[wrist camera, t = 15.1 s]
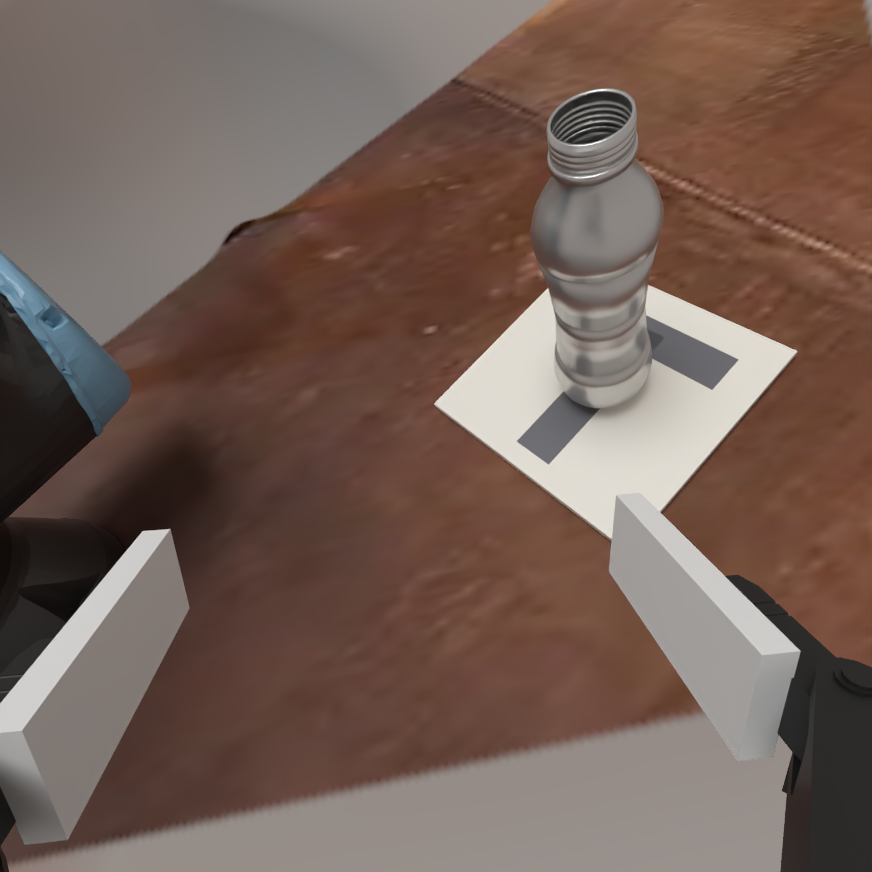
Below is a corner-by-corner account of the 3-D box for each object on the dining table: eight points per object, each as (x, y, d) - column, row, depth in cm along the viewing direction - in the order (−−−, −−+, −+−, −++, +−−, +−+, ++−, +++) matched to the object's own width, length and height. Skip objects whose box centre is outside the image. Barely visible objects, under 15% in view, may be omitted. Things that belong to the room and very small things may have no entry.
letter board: (436, 407, 43) (433, 403, 42) (580, 260, 45) (580, 255, 45) (626, 553, 33) (626, 550, 33) (794, 356, 36) (797, 351, 35)
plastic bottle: (662, 352, 38) (697, 61, 21) (632, 431, 36) (645, 177, 19) (575, 335, 41) (546, 67, 24) (543, 407, 39) (487, 168, 22)
